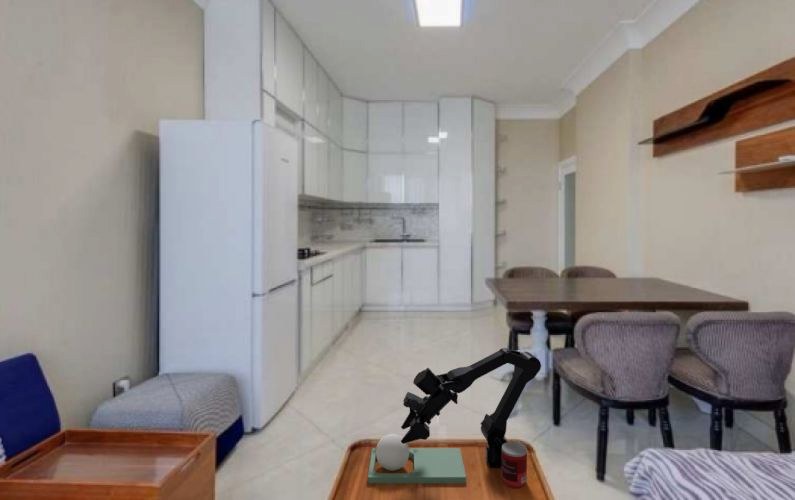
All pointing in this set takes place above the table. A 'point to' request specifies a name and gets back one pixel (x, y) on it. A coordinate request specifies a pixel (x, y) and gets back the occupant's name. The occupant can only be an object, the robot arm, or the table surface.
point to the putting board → (425, 467)
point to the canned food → (514, 464)
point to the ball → (392, 452)
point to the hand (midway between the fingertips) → (401, 435)
